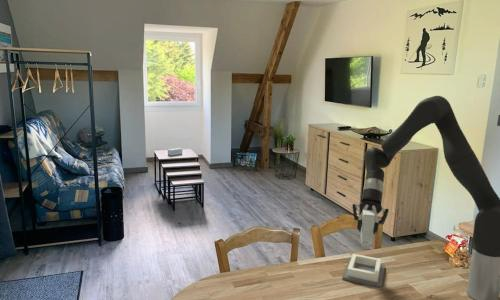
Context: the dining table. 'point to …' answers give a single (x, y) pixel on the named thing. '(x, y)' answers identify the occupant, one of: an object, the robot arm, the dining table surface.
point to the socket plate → (364, 270)
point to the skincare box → (367, 227)
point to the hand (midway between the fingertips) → (366, 231)
